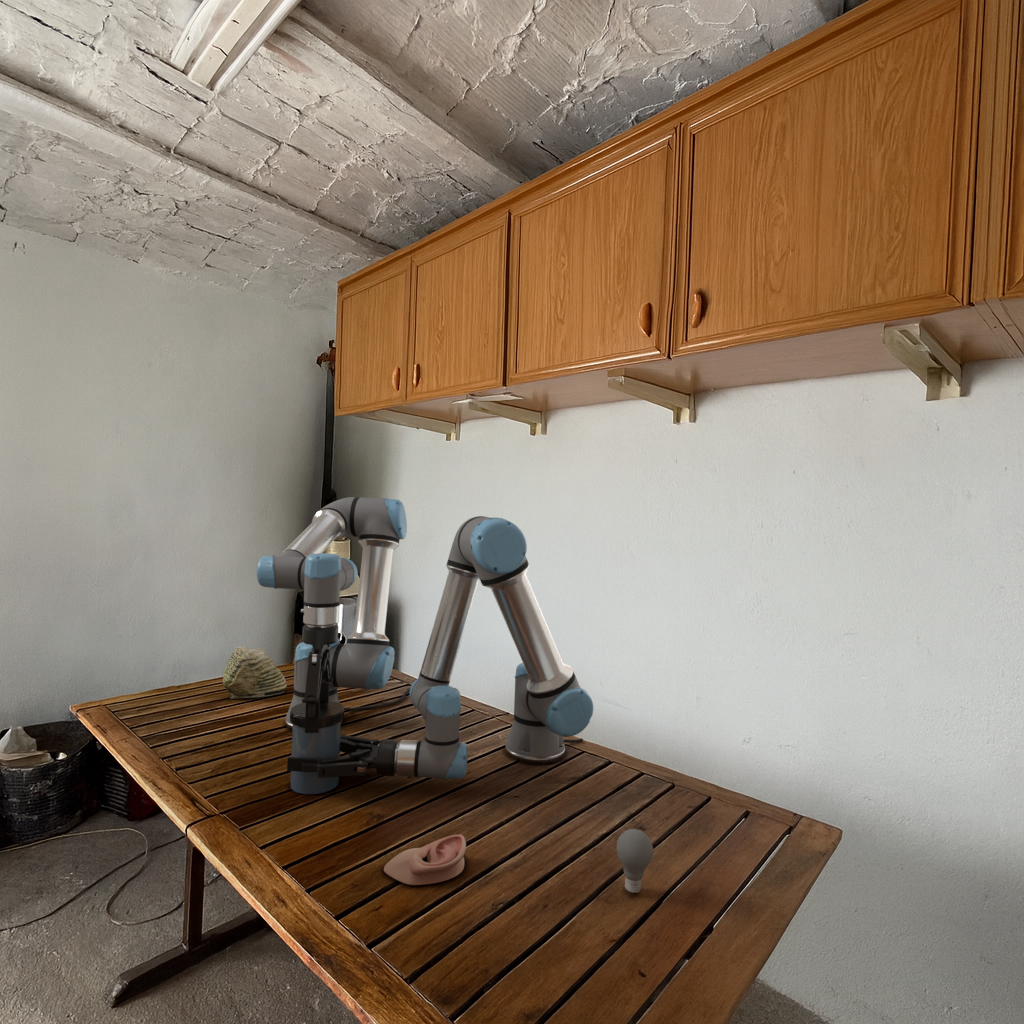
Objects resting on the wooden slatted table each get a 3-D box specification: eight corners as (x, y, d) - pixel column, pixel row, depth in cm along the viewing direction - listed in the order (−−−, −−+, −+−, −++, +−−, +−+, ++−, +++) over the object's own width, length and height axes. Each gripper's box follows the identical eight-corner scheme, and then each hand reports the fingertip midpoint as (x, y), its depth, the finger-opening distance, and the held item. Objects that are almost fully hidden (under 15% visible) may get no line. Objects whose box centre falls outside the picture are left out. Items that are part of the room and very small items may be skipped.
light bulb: (610, 879, 108) (613, 822, 108) (644, 879, 109) (647, 822, 109) (619, 902, 102) (622, 840, 102) (655, 901, 103) (658, 840, 103)
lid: (278, 719, 138) (279, 709, 138) (321, 706, 147) (321, 697, 147) (312, 732, 132) (313, 721, 132) (354, 717, 141) (355, 707, 141)
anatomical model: (377, 856, 105) (402, 822, 117) (376, 879, 106) (401, 843, 117) (453, 868, 103) (472, 833, 114) (452, 892, 103) (471, 854, 114)
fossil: (218, 695, 195) (220, 647, 195) (278, 685, 208) (279, 640, 207) (228, 703, 189) (230, 653, 188) (289, 692, 201) (290, 645, 201)
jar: (320, 769, 147) (323, 700, 147) (348, 783, 141) (351, 711, 140) (280, 784, 139) (283, 711, 138) (308, 799, 133) (311, 723, 132)
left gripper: (313, 613, 151) (309, 703, 151) (291, 636, 126) (287, 742, 127) (345, 614, 152) (341, 703, 152) (329, 636, 127) (325, 742, 128)
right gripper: (385, 799, 128) (276, 794, 128) (405, 754, 151) (312, 749, 151) (387, 762, 128) (278, 757, 128) (406, 722, 151) (314, 718, 151)
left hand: (317, 721), depth 139 cm, fingers open, 12 cm apart
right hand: (296, 753), depth 140 cm, fingers closed on jar, 10 cm apart
